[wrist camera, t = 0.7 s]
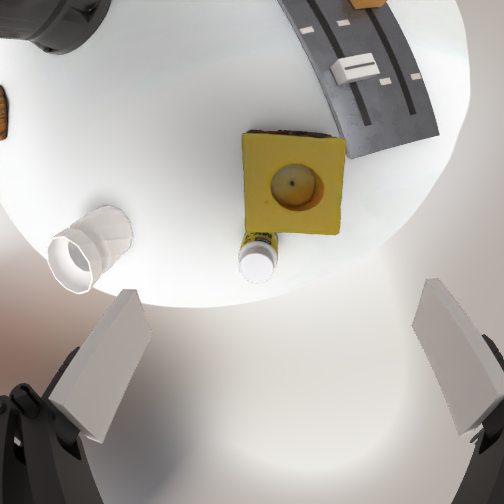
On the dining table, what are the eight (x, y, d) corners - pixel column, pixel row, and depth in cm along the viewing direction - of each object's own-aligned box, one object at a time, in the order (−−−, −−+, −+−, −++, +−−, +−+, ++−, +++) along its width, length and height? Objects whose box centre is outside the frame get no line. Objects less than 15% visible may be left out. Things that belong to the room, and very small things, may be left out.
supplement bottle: (275, 221, 37) (275, 248, 29) (279, 252, 39) (279, 284, 31) (241, 225, 38) (232, 252, 30) (246, 255, 40) (239, 287, 32)
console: (268, -14, 22) (268, -20, 20) (359, -28, 18) (362, -33, 17) (347, 157, 32) (352, 159, 30) (432, 134, 29) (439, 135, 27)
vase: (90, 200, 38) (42, 228, 27) (134, 210, 38) (90, 243, 27) (92, 247, 42) (51, 283, 31) (133, 260, 42) (96, 302, 31)
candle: (248, 129, 32) (238, 130, 23) (328, 132, 31) (348, 135, 22) (249, 205, 36) (240, 233, 27) (324, 207, 36) (339, 236, 27)
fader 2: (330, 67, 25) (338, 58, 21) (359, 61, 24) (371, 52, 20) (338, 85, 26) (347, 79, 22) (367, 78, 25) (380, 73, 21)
